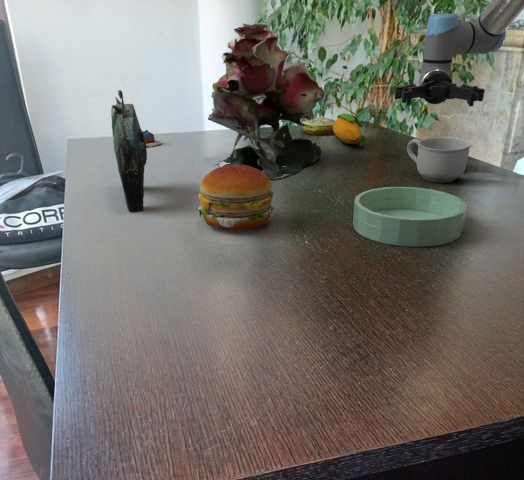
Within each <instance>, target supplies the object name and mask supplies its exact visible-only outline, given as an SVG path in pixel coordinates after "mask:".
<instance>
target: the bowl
mask: <svg viewBox="0 0 524 480" xmlns="http://www.w3.org/2000/svg"><path fill="white" fill-rule="evenodd" d="M467 211H468V206H467V202H466V201H464V199H462V198H460V197H459V196H456V195H454V194H452V193H449V192H445V191H442V190H437V189H434V188H433V189H432V188H426V187H425V188H424V187H416V186H415V187H414V186H386V187H377V188H373V189H372V188H371V189H368V190H366V191H362V192H360V193H359V194H358V195H356V196H355V198H354V201H353V213H352V214H353V216H352V227H353V229H354V232H356V233H357V234H358V235H360V236H361V237H364V238H366V239H368V240H371V241H374V242H378V243H381V244H385V245H392V246H400V247H414V248H417V247H418V248H419V247H420V248H421V247H434V246H440V245H441V246H442V245H445V244H449V243H452V242H453V241H456V240H458V239H459V238H460V237H461V236H462V234H463V231H464V227H465V221H466V217H467Z"/></svg>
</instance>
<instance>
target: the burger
mask: <svg viewBox="0 0 524 480" xmlns="http://www.w3.org/2000/svg"><path fill="white" fill-rule="evenodd" d="M262 171H263V170H260V169H258V168H256V167H251V166H247V165H226V166H222V167H219V166H218V167H217V168H214V169H213V170H211V171H209V173H207V174H205V176H203V178H202V180H201V182H200V186H199V191H200V193H198V195H197V197H198V200H199V204H200V206H199V207H198V208H197V209H198V210H197V211H198V216H199V218H203V220H204V222H205V223H206V224H207V225H208V226H210V227H213V228H215V229H221V230H224V231H225V230H226V231H244V230H245V231H247V230H252V229H256V228H260V227H261V226H264V225H266V224H267V222H269V220H270V218H272V217H273V216H272V215H273V211H274V210H275V207H274V206H273V204H272V199H273V197H274V191H273V189H272V188H273V185H272V180H270V179H269V178H268V177H267V176H266V175H265V174H264V173H263V172H262Z"/></svg>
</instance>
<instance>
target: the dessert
mask: <svg viewBox="0 0 524 480" xmlns="http://www.w3.org/2000/svg"><path fill="white" fill-rule="evenodd" d="M142 132H143V135H144V139H145V142H146V146H147V147H150V148H153V147H156V146H159V145H161V144H162V142H161V141H160V140H157V139H155V134H154V133H152V132H151V131H149V130H148V129H145V130H142Z"/></svg>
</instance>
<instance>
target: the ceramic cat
mask: <svg viewBox="0 0 524 480" xmlns="http://www.w3.org/2000/svg"><path fill="white" fill-rule="evenodd" d="M117 95H118V97H119V98H118V97H116V96H114V98H115V101H116V104H111V109H110V113H111V115H110V118H111V130H112V131H111V133H112V137H113V150H114V154H115V159H116V164H117V171H118V174H119V178H120V182H121V186H122V191H123V195H124V199H125V204H126V209H127V211H128V212H130V213H132V212H143V211H144V209H145V208H144V207H145V206H144V195H145V193H144V191H145V190H144V188H145V187H144V186H145V166H146V164H147V162H148V161H147V160H148V151H147V148H148V146H146V142H145V139H144V135H143V132H142V131H143V130H142V128H141V125H140V122H139V118H138V116H137V112H136V109H135V106H134V104H133V103H125V101H124V95H123V91H122V90H121V89H118V91H117Z"/></svg>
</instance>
